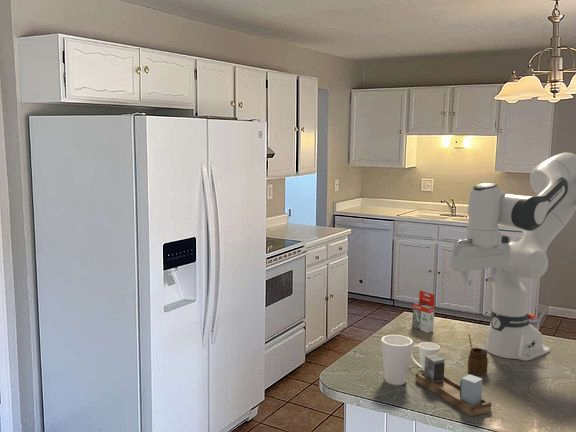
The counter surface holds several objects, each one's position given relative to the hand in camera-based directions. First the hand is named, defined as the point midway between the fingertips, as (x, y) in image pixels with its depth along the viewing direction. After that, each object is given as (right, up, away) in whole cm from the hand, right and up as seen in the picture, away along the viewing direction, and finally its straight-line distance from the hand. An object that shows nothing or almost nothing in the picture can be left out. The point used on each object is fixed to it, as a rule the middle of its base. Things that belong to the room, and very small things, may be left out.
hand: (479, 283), depth 171 cm
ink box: (-5, -24, +50) cm, 56 cm away
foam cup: (-24, -31, +4) cm, 40 cm away
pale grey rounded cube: (-7, -32, -13) cm, 35 cm away
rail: (-10, -32, -5) cm, 34 cm away
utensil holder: (+3, -30, +12) cm, 32 cm away
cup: (-13, -30, +14) cm, 35 cm away
